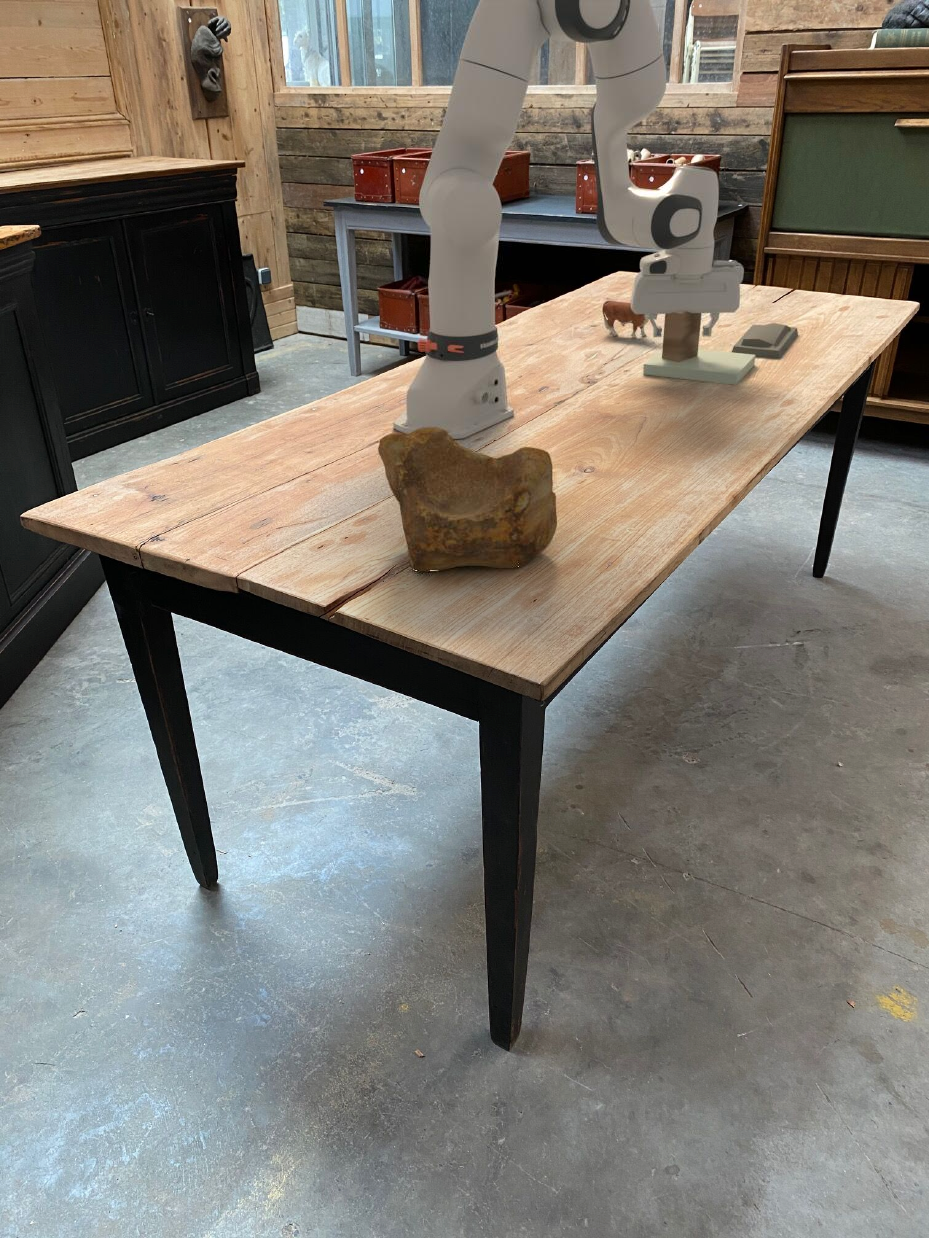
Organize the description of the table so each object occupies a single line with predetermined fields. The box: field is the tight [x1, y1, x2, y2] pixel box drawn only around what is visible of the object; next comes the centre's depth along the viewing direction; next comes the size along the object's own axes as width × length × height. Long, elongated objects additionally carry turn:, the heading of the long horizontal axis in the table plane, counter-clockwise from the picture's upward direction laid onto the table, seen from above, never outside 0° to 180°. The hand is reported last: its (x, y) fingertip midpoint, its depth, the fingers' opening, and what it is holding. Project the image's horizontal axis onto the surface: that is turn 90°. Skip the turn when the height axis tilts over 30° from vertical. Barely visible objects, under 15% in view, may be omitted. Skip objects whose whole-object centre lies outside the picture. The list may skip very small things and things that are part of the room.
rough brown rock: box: [377, 427, 558, 571], centre depth 115 cm, size 23×16×15 cm
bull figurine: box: [602, 299, 659, 340], centre depth 204 cm, size 4×13×8 cm, turn 53°
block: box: [661, 311, 703, 362], centre depth 182 cm, size 6×4×9 cm, turn 131°
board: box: [642, 348, 757, 386], centre depth 183 cm, size 14×18×2 cm
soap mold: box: [731, 322, 799, 359], centre depth 197 cm, size 10×20×4 cm, turn 153°
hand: (681, 336), depth 182 cm, fingers open, 8 cm apart
